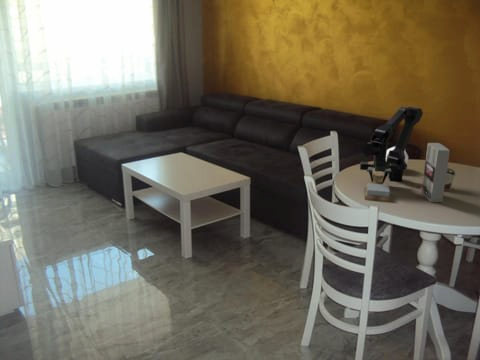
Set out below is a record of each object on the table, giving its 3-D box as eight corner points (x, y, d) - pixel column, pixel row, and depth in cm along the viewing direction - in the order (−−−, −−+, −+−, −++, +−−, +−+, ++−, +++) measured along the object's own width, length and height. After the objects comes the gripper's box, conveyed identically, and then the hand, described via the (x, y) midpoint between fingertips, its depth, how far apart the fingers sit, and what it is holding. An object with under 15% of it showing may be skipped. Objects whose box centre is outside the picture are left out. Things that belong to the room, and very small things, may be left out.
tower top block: (388, 189, 232) (388, 185, 231) (389, 196, 223) (389, 191, 222) (366, 188, 234) (367, 183, 233) (366, 195, 225) (367, 190, 224)
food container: (453, 187, 241) (456, 168, 238) (453, 190, 236) (456, 171, 233) (427, 183, 246) (430, 165, 243) (426, 187, 241) (429, 168, 238)
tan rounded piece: (381, 183, 246) (382, 174, 245) (382, 186, 242) (383, 177, 240) (371, 182, 247) (372, 173, 246) (372, 185, 243) (373, 176, 241)
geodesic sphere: (413, 157, 272) (400, 138, 270) (416, 164, 259) (402, 144, 257) (391, 171, 277) (378, 151, 275) (392, 178, 264) (379, 158, 262)
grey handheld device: (419, 192, 234) (426, 142, 226) (432, 192, 234) (439, 142, 226) (429, 202, 221) (436, 150, 213) (442, 202, 221) (450, 150, 213)
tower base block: (388, 194, 234) (389, 189, 233) (391, 202, 222) (391, 197, 222) (363, 192, 236) (364, 187, 235) (364, 200, 225) (365, 195, 224)
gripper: (361, 156, 234) (359, 186, 239) (401, 158, 230) (397, 189, 235) (361, 150, 244) (358, 179, 249) (399, 152, 240) (395, 182, 245)
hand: (377, 182), depth 244 cm, fingers closed on tan rounded piece, 5 cm apart
